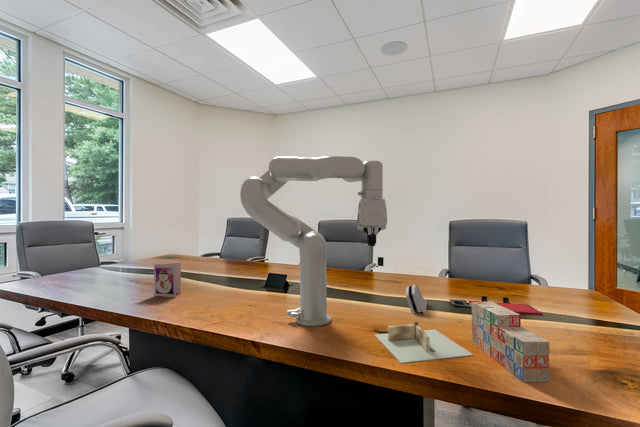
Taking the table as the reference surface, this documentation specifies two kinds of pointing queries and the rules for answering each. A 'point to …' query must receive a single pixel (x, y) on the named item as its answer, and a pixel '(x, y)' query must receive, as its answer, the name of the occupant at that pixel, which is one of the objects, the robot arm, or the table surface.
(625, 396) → the table surface
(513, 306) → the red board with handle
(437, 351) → the card
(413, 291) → the grey piece
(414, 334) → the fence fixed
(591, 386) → the table surface
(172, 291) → the greeting card
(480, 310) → the stack of blocks
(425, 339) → the panel
